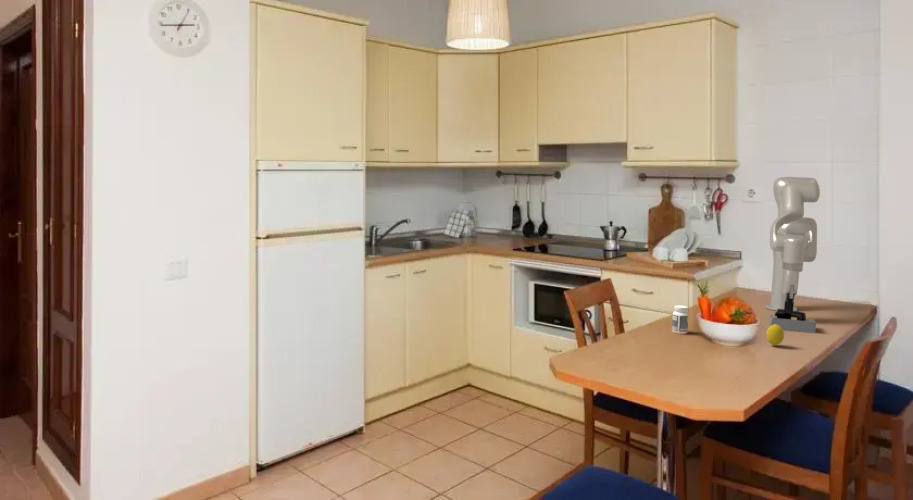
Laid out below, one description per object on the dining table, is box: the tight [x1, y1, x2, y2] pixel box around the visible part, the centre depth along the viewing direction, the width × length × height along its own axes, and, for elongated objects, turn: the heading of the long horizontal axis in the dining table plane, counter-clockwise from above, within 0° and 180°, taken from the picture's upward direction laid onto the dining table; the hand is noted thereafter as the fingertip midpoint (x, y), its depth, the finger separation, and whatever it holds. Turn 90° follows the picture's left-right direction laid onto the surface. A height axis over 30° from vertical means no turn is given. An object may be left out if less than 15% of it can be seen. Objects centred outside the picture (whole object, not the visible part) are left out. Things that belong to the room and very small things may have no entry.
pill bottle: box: [671, 304, 689, 335], centre depth 256 cm, size 6×6×10 cm
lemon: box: [765, 324, 785, 347], centre depth 239 cm, size 6×6×8 cm
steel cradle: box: [769, 314, 817, 334], centre depth 269 cm, size 10×15×5 cm, turn 70°
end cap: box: [774, 309, 807, 321], centre depth 270 cm, size 10×7×7 cm
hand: (788, 310), depth 282 cm, fingers closed
